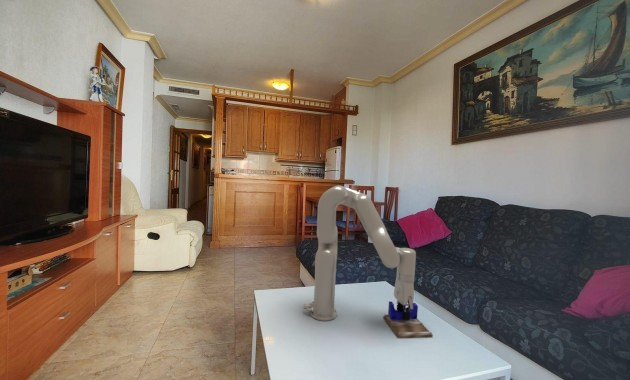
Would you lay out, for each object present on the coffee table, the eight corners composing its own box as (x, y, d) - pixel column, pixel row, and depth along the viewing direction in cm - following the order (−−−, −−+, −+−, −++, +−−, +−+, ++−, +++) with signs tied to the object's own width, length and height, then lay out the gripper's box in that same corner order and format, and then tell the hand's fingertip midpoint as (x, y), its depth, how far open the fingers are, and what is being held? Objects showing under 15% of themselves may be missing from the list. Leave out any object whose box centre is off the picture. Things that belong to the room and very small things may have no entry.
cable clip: (390, 319, 115) (391, 306, 114) (388, 314, 119) (388, 301, 119) (418, 321, 114) (419, 307, 114) (414, 315, 119) (415, 303, 119)
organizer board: (397, 338, 105) (397, 333, 105) (383, 318, 120) (383, 314, 120) (432, 337, 107) (432, 332, 107) (414, 317, 122) (414, 313, 122)
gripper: (389, 269, 124) (387, 307, 125) (406, 284, 107) (403, 327, 108) (404, 269, 125) (402, 307, 126) (423, 284, 108) (420, 327, 109)
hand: (402, 316), depth 117 cm, fingers closed on cable clip, 4 cm apart
